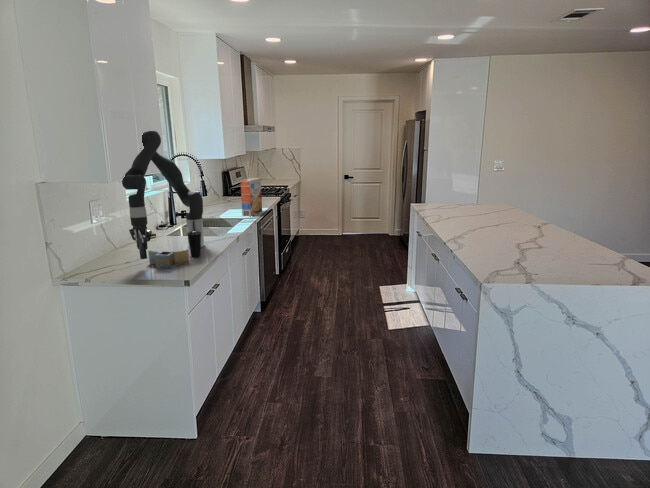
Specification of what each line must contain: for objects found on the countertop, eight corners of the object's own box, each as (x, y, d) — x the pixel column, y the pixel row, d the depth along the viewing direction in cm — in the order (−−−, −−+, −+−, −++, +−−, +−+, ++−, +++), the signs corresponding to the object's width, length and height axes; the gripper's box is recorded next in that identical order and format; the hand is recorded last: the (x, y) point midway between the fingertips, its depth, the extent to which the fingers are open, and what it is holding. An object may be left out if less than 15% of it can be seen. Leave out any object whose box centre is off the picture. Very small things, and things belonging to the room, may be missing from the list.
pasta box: (251, 217, 353) (249, 180, 345) (242, 216, 355) (240, 180, 347) (262, 212, 374) (260, 178, 367) (253, 211, 376) (252, 177, 369)
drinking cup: (205, 256, 237) (203, 221, 232) (193, 259, 231) (190, 223, 226) (198, 254, 242) (195, 219, 237) (186, 256, 236) (183, 221, 231)
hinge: (153, 261, 228) (152, 248, 226) (189, 262, 226) (188, 249, 224) (142, 267, 217) (141, 254, 215) (180, 268, 215) (179, 255, 213)
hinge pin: (142, 257, 217) (139, 230, 213) (148, 257, 217) (145, 230, 213) (139, 259, 214) (135, 232, 210) (145, 259, 214) (141, 232, 210)
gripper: (122, 215, 209) (126, 249, 214) (142, 218, 203) (146, 252, 208) (134, 213, 216) (138, 245, 220) (154, 215, 210) (158, 248, 214)
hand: (142, 249), depth 214 cm, fingers closed on hinge pin, 3 cm apart
